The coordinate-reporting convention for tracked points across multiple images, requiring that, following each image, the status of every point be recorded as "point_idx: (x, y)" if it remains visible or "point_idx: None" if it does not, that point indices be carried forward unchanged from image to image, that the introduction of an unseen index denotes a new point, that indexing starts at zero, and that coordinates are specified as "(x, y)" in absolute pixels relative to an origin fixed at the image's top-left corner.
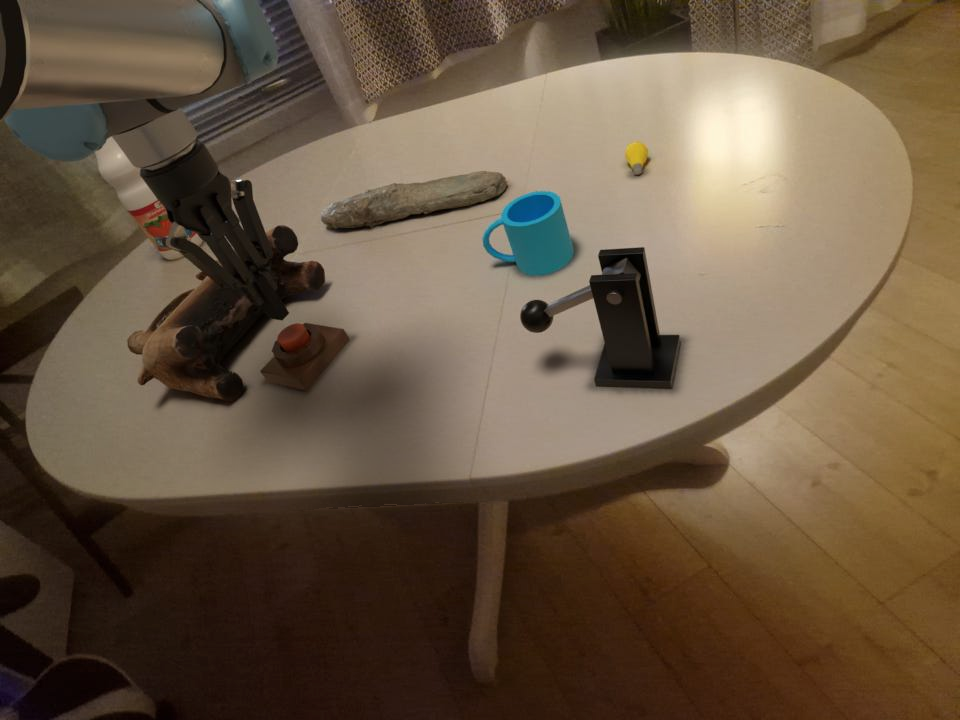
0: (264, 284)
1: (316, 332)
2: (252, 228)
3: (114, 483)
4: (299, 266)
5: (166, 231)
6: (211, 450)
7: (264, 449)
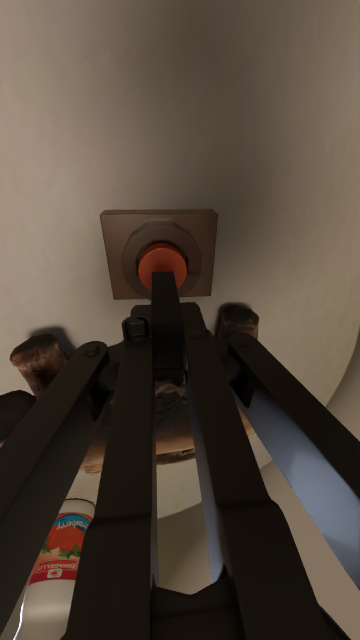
0: (165, 311)
1: (136, 239)
2: (57, 449)
3: (344, 347)
4: (35, 373)
5: (75, 535)
6: (311, 276)
7: (313, 197)
